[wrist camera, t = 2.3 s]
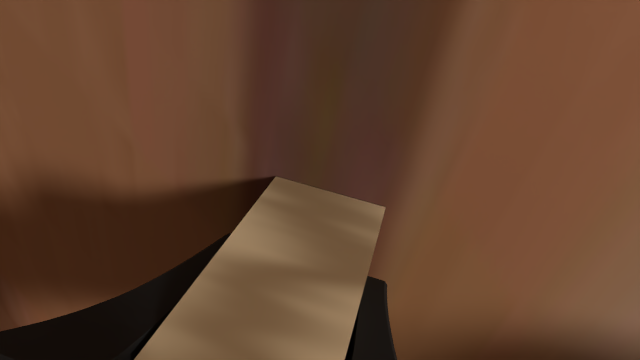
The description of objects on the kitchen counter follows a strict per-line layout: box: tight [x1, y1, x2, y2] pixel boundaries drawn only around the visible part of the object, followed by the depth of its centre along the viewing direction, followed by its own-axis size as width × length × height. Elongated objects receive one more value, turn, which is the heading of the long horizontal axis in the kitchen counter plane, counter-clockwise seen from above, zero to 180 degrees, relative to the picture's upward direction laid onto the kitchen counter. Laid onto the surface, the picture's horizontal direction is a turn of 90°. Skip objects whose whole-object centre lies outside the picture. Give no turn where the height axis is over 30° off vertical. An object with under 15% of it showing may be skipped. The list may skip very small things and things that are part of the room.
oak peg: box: [134, 177, 386, 360], centre depth 13 cm, size 4×4×8 cm
